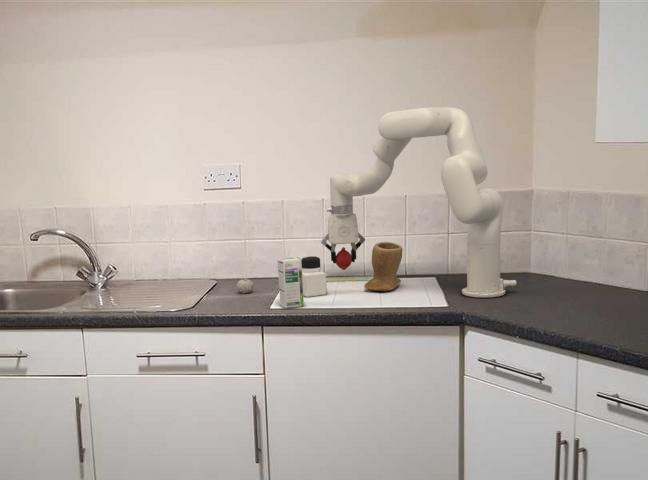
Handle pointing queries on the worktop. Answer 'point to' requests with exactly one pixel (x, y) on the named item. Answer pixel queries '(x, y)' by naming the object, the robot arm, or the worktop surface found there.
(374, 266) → the stone cup
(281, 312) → the worktop surface
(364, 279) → the edge strip
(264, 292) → the worktop surface
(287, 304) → the syrup box
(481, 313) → the worktop surface
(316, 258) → the medicine bottle
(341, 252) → the pomegranate
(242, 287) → the garlic
